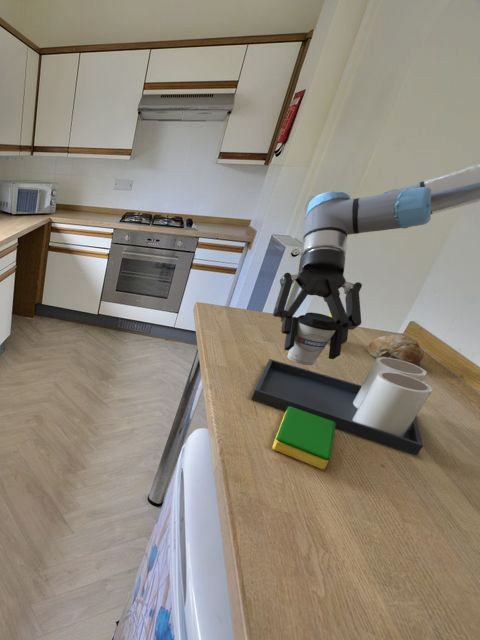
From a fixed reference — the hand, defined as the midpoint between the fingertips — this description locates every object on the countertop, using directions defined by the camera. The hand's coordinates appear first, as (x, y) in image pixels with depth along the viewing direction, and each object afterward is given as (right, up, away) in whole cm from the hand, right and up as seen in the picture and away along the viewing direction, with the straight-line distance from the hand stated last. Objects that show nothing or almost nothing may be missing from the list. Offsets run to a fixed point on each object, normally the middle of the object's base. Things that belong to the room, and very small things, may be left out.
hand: (311, 352), depth 83 cm
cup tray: (+4, -11, 0) cm, 11 cm away
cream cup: (+11, -11, -2) cm, 16 cm away
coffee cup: (+1, -2, +4) cm, 5 cm away
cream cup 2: (+6, -14, -8) cm, 17 cm away
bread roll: (+39, -2, +22) cm, 45 cm away
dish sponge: (-11, -16, -11) cm, 22 cm away
